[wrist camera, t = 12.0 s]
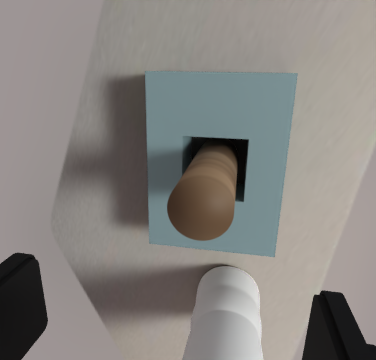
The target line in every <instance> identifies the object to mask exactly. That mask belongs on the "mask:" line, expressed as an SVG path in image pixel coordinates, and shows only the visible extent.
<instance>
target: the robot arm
mask: <svg viewBox="0 0 376 360" xmlns="http://www.w3.org/2000/svg"><path fill="white" fill-rule="evenodd" d="M47 322H48V318H47V312H46V305H45V299H44V293H43V287H42V281H41V275H40V268H39V263H38V261H37V260H36V259H35V257H34V256H33V255H31V254H24V253H15V254H13V255H11V256H10V257H9V258H7V259H6V260H5V261H3V262H2V263H1V264H0V360H21V359H22V358H23V357H24V356H25V354H26V353H27V352H28V351H29V349H30V348H31V347H32V345H33V344H34V343H35V341H37V339H38V338H39V337H40V336H41V334H42V333H43V332H44V330H45V329H46V326H47ZM302 360H376V346H375V345H370V344H366V342H365V340H364V337H363V335H362V333H361V331H360V329H359V327H358V325H357V322H356V320H355V318H354V316H353V314H352V312H351V310H350V308H349V306H348V303H347V301H346V299H345V297H344V295H343V294H342V293H339V292H331V291H321V292H320V295H314V297H313V302H312V307H311V313H310V318H309V324H308V329H307V335H306V340H305V346H304V351H303V357H302Z"/></svg>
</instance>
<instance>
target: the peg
mask: <svg viewBox="0 0 376 360" xmlns="http://www.w3.org/2000/svg"><path fill="white" fill-rule="evenodd" d="M237 166H238V151H237V148H236V147H235V145H234V144H233V143H232V142H231V141H230V140H228V139H226V138H211V139H209V140H207V141H206V142H205V143H204V144H203V145H202V147H201V148H200V150H199V151H198V153H197V154H196V156H195V157H194V159H193V160H192V162H191V163H190V165H189V166H188V168H187V169H186V171H185V172H184V174H183V176H182V177H181V179H180V180H179V182H178V183H177V185H176V186H175V188H174V189H173V191H172V192H171V194H170V196H169V199H168V203H167V213H168V217H169V220H170V222H171V223H172V225H173V226H174V228H175V229H176V230H177V231H178V232H179V233H181V234H182V235H184V236H185V237H187V238H190V239H193V240H198V241H208V240H212V239H215V238H217V237H219V236H221V235H223V234H224V233H225V232H226V231H227V230H228V229H229V227H230V226H231V224H232V221H233V218H234V208H235V194H236V180H237Z"/></svg>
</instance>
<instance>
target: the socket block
mask: <svg viewBox="0 0 376 360" xmlns="http://www.w3.org/2000/svg"><path fill="white" fill-rule="evenodd" d="M297 75H298V73H243V72H175V71H145V87H146V128H147V169H148V211H149V243H150V244H159V245H168V246H177V247H186V248H195V249H205V250H214V251H223V252H232V253H241V254H250V255H260V256H269V257H275V250H276V242H277V234H278V226H279V218H280V210H281V202H282V194H283V186H284V178H285V170H286V162H287V154H288V147H289V139H290V131H291V123H292V115H293V107H294V99H295V91H296V83H297ZM192 137H211V138H232V139H247V150H246V162H245V175H244V184H236V194H235V208H234V218H233V221H232V224H231V226H230V227H229V229H228V230H227V231H226V232H225V233H224V234H223V235H221V236H219V237H217V238H215V239H212V240H208V241H198V240H193V239H190V238H187V237H185V236H184V235H182V234H181V233H179V232H178V231H177V230H176V229H175V228H174V226H173V225H172V223H171V222H170V220H169V217H168V213H167V203H168V199H169V196H170V194H171V192H172V191H173V189H174V188H175V186H176V185H177V183H178V182H179V180H180V179H181V177H182V176H183V174H184V172H185V171H186V169H187V168H188V166H189V165H190V163H191V147H192Z"/></svg>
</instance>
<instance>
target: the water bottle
mask: <svg viewBox="0 0 376 360" xmlns="http://www.w3.org/2000/svg"><path fill="white" fill-rule="evenodd" d="M259 308H260V299H259V290H258V287H257V284H256V282H255V281H254V279H253V278H252V277H251V276H250V275H249V274H248V273H246V272H245V271H243V270H241V269H239V268H236V267H231V266H221V267H216V268H213V269H211V270H210V271H208V272H207V273H206V274H205V275H204V276H203V277H202V278H201V280H200V282H199V285H198V289H197V295H196V305H195V307H194V310H193V313H192V318H191V331H190V334H189V337H188V340H187V344H186V347H185V351H184V355H183V359H182V360H263V354H262V348H261V342H260V341H261V319H260V314H259Z"/></svg>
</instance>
